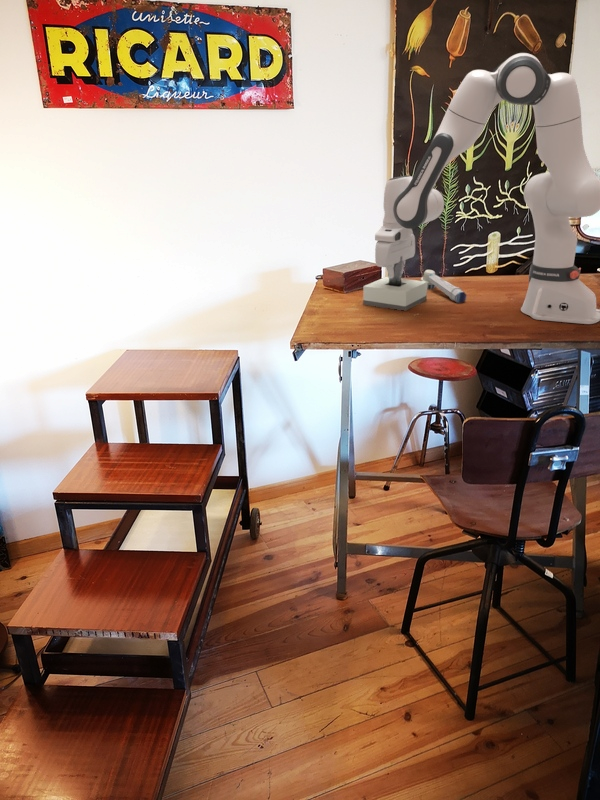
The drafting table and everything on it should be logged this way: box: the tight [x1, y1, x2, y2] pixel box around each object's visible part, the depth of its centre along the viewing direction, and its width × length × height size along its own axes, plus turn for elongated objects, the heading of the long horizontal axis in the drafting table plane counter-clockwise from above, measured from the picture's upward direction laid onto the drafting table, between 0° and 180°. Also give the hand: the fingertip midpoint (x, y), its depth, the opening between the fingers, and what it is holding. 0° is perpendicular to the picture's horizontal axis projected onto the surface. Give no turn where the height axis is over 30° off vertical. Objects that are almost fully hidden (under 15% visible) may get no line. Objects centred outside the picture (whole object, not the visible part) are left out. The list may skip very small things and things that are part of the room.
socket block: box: [362, 276, 428, 312], centre depth 193 cm, size 15×15×6 cm
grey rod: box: [420, 269, 467, 304], centre depth 202 cm, size 5×7×25 cm
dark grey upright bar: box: [389, 256, 403, 287], centre depth 190 cm, size 4×4×10 cm
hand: (395, 276), depth 191 cm, fingers closed on dark grey upright bar, 4 cm apart
